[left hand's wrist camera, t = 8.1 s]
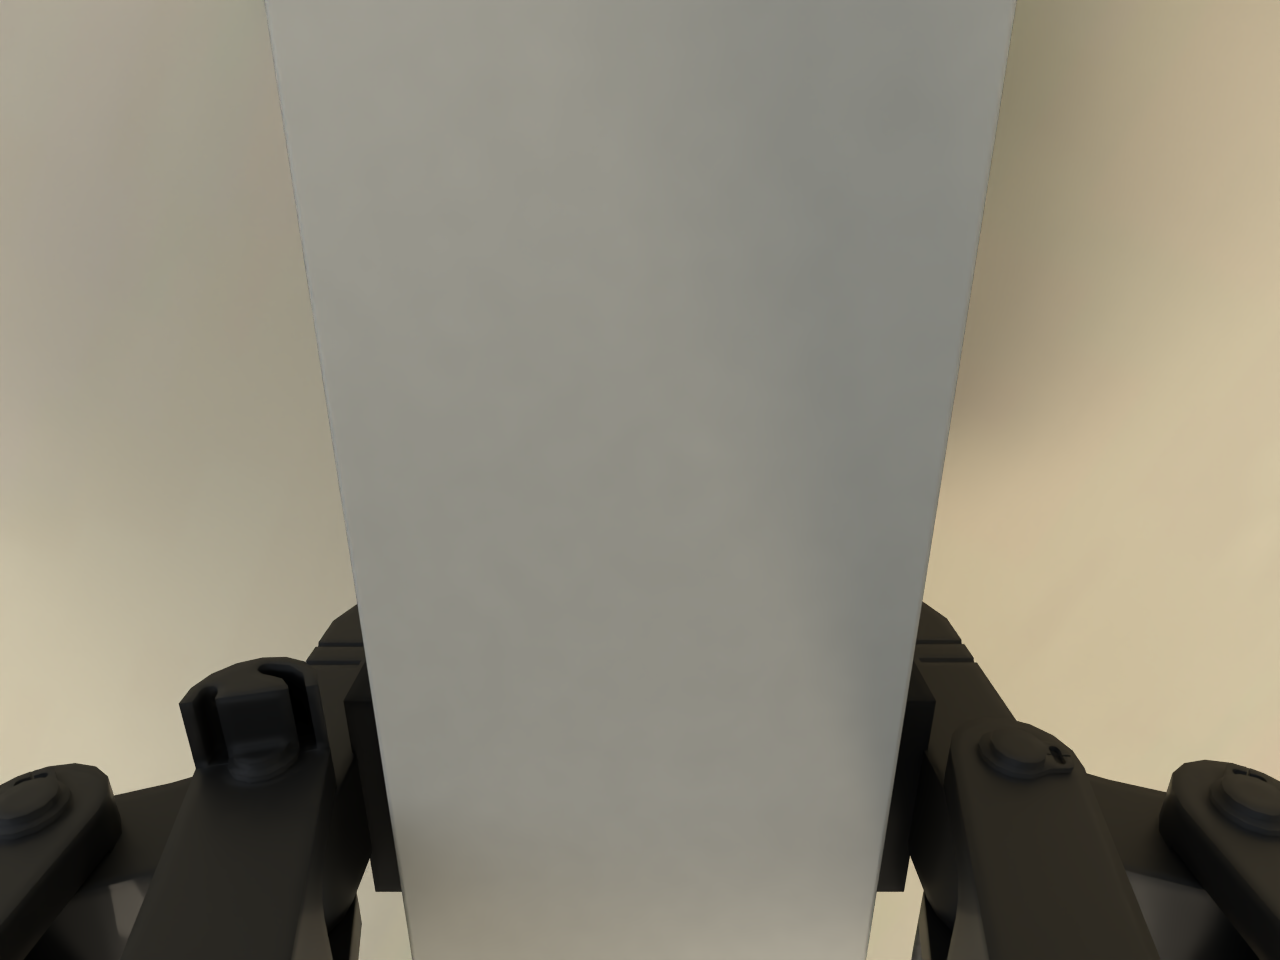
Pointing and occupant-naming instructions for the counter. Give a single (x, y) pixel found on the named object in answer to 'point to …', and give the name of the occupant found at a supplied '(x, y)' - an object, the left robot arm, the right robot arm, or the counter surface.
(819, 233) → the post
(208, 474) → the counter surface
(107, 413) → the counter surface
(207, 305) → the counter surface
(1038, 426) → the counter surface
